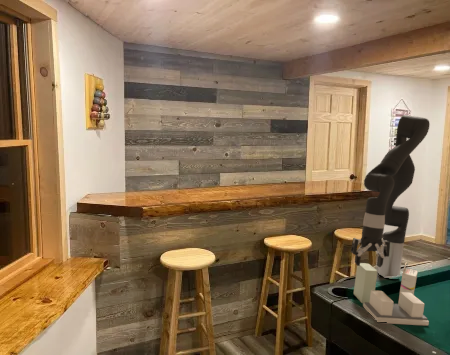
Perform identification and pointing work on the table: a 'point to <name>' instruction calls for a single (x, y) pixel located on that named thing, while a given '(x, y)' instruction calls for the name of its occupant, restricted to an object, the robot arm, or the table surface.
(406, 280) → the ink cartridge box
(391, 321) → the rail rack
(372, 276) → the block
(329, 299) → the table surface
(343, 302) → the table surface
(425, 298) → the table surface
